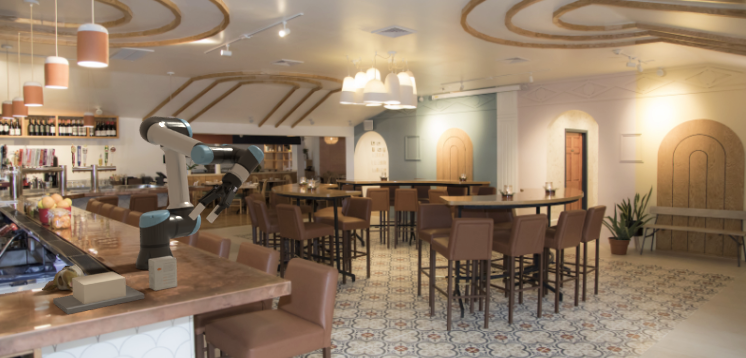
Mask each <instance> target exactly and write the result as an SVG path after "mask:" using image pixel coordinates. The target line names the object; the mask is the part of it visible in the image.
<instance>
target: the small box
mask: <svg viewBox="0 0 746 358" xmlns="http://www.w3.org/2000/svg"><path fill="white" fill-rule="evenodd" d="M177 262H178V261H177V258H176V257H174V256H173V257H172V256H166V257H160V258H153V259H149V269H148V280H149V281H148V285H149V286H148V288H149V289H151V290H153V291H160V290H161V291H162V290H165V289H171V288H177V287H178V271H177V270H178V269H177Z"/></svg>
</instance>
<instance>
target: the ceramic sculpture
mask: <svg viewBox="0 0 746 358" xmlns="http://www.w3.org/2000/svg"><path fill="white" fill-rule="evenodd" d="M82 276H85V273H84V271H83V270H82V269H81V268H80V267H79V266H78V265H77V264H76V263H75V264H73V265H64V266H63V267H62V268H61V270H59V271H57V272H56V273H55V275H54V277H53V280H50V281H48V282H47V283H46V284H45V285H44V287H43V288H41V290H42V291H47V292H50V291H54V290H55V289H57V290H60V291H71V290H72V291H73V282H72V278H76V277H82Z"/></svg>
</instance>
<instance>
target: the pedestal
mask: <svg viewBox="0 0 746 358" xmlns="http://www.w3.org/2000/svg"><path fill="white" fill-rule="evenodd" d="M72 282H73V290H72V294H70V295H63V296H59V297H58V296H57V297H54V298H53V300H52V301H53V302H52V303H53V304H54V305H55V306H57V308H59V309H60V310H61V311H63V312H64V313H65V314H67V315H71V314H77V313H81V312H85V311H87V312H88V311H90V310H96V309H100V308H106V307H110V306H116V305H119V304H123V303H129V302H134V301H137V300H143V299H145V293H143V292H141V291H139V290H137V289H135V288H133V287H131V286H129V285H128V284H126V277H125V276H122V275H121V274H118V273H117V272H114V271H108V272H102V273H95V274H90V275H88V274H87V275H84V276H82V277H76V278H72Z"/></svg>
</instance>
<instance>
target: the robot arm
mask: <svg viewBox="0 0 746 358" xmlns="http://www.w3.org/2000/svg"><path fill="white" fill-rule="evenodd" d="M138 131H139V135H140V137H141V138H142V139H143V140H144V141H145V142H147V143H149V144H151V145H155V146H159V148H160V150H162V151H163V152H164V153H163V154H164V161H165V170H166V181H167V193H168V201H169V202H168V203H169V205H168V206H166V209H158V210H150V211H146V212H144V213H142V214H141V215H140V216H139V223H138V226H139V251H138V254H137V256H136V261H135V268H136V269H138V270H149V259H153V258H160V257H166V256H172V257H174V254H173V251H172V248H171V245H170V244H171V242H170V240H171V239H177V238H182V237H183V238H185V237H188V236H192V235H195V234H196V233H197V232H198V230H200V227H201V223H202V218H201V215H200V214H201V213H202V212H203V211H204V209H206V208H207V207H206V206H207V205H209V204H210V203H212V202H213V201H215V200H217V199H220V200H219V202H218V204H217V205H216V206H215V207H214V208H213V209H212V211H210V213H209V214H208V215H207V217H206V218H205V219H206V220H207V221H208V222H209V223H210V224H213V223H214V221H215V220H216V219H217V218H218V217H219V216H220V214H221V213H222V212H223V211H224V210H226V209H229V208H230V206H231V205H232V203H233V200H234V198H235V196H236V194H237V193H238V191H239V190H240V188H241V186H242V185H243V183H245V182H246V181H247V180H248V178H249V177H250V176H251V174H252V173H254V170H256V168H257V167H258V166H259V165H260V164H261V162H262V161H263V159H265V154H264V152H263V150H262V149H261V148H259V147H258V146H256V145H250V146H248V147H247V148H246V149H245V148H241V147H237V146H234V145H233V144H227V143H223V144H221V145H213V144H212V145H211V144H207V143H205V142H203V141H200V140H199V139H196V138H193V129H192V126H191V124H190V123H189V122H188V121H187V120H185V119H182V118H178V117H167V116H166V117H165V116H149V117H147V118H145V119H144V120H142V121H141V123H140V125H139V130H138ZM186 157H188V158H189V159H190V160H191V161H193V163H194V164H196V165H200V166H201V165H202V166H207V165H210V166H211V165H231V167H230V168H229V169H228V170H227V172H225V174H224V175H223V176H222V177H221V182H222V183H221V184H220V185H219V184H218V183H217V184H215V185H214V187H212V188H211V189H210V190H209V191H207V192H206V193H205V194H204V195H202V197H200V198H199V199H198V200H197V202H198V204H197V205H196V206H194V205H193V203H192V202H191V201H190V199H191V198H190V191H189V181H188V171H187V170H188V169H187V159H186Z"/></svg>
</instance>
